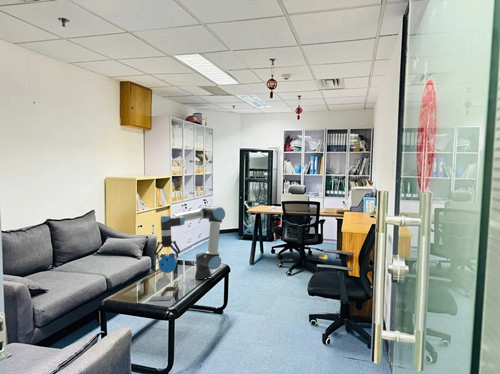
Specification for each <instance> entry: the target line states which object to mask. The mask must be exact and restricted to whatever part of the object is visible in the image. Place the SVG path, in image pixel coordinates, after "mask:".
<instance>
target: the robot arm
mask: <svg viewBox="0 0 500 374" xmlns="http://www.w3.org/2000/svg"><path fill="white" fill-rule="evenodd" d="M225 218H226V210H225V209H224V208H223V207H221V206H218V205H217V206H213V205H207V206H203V207H201V208H198V209H196V210H191V211H186V212H185V211H184V212H180V213H176V214H171V215H170V214H165V215H160V232H161V241H157V245H156V247H155V250H154V251H153V254H154V255H155V256H156V257H155V259H157V264H159V261H160V252H161V251H162V250H163V248H170V249H171V250H172V251H174V255H175V259H176V262H178V258H179V253H181V249H180V248H179V246H178V244H177V241H176V240H172V227H181V226H184V225H185V222H187V221H193V220H194V221H195V220H197V219H199V220H203V219H205V220H208V223H209V233H208V247H207V251H201V252H200V251H199V252H197V253H196V254H195V266H196V271H195V275H194V279H195V280H196V279H205V278H208V277H211V276H212V277H213V275H212V274H213V273H212V271H211V270H217V269H219V267H220V266H221V264H222V259H221V257H220V252H218V251H219V240H220V229H221V228H220V227H221V224H222V223H223V220H224V219H225ZM172 244H173V245H174V246H173V245H172ZM160 245H162V246H161V247H160ZM159 247H160V248H159Z"/></svg>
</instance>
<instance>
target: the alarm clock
mask: <svg viewBox="0 0 500 374" xmlns="http://www.w3.org/2000/svg"><path fill="white" fill-rule="evenodd" d="M159 260H160V261H159V263H158V269H159V270H160V271H161V272H162V273H164V274H171V273H172V272H173V271H174V270H175V269H176V267H177V265H178V264H177V262H178V261H177V262H176V259H175V253H173V252H170V253H168V254H167V253H164V252H163V253H161V254H159Z"/></svg>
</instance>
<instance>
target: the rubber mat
mask: <svg viewBox="0 0 500 374" xmlns="http://www.w3.org/2000/svg"><path fill="white" fill-rule="evenodd" d="M173 297H174V296H173V295H163V296H161V295H159V296H158V295H157V296H151V297H150V298H149V300H148V302H161V301H163V302H164V301H165V302H167V301H169V302H170V301H171V300H172V299H173Z"/></svg>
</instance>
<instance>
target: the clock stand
mask: <svg viewBox="0 0 500 374" xmlns="http://www.w3.org/2000/svg"><path fill="white" fill-rule="evenodd" d="M168 291H173V292H172V296H173V297H175V296H176V295H177V293H178V291H180V287H179V286H166V287H165V288H164V289H163V290H162V291H161V292H160V296H165V294H166V293H167V292H168Z"/></svg>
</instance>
